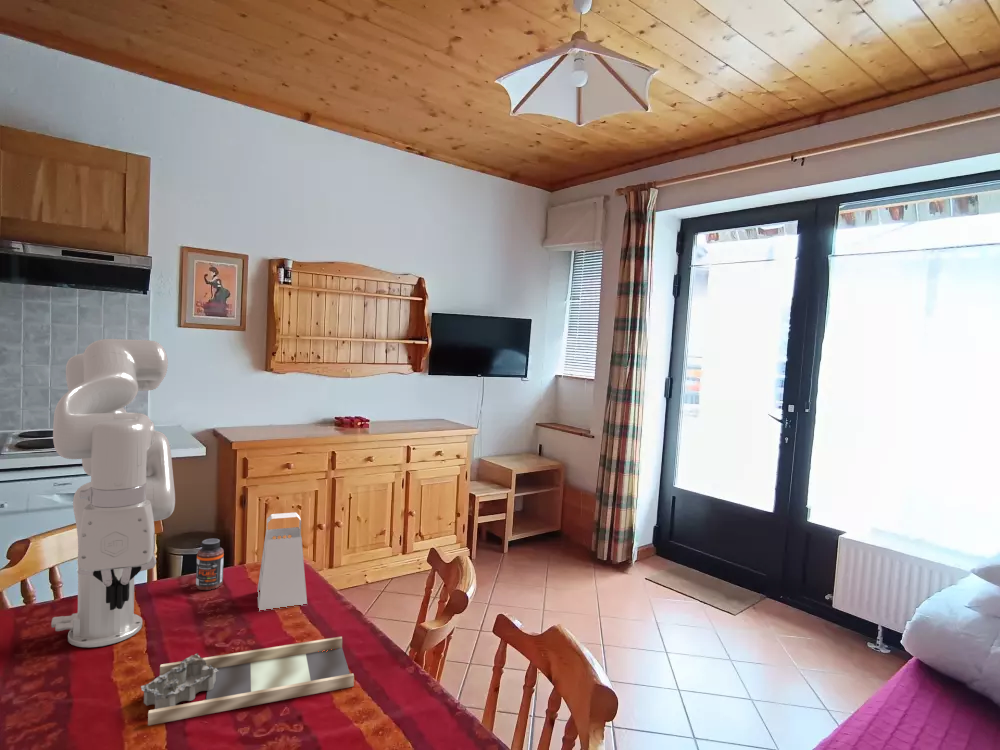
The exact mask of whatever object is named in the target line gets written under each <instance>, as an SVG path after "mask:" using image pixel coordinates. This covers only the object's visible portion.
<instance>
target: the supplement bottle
mask: <svg viewBox="0 0 1000 750" xmlns="http://www.w3.org/2000/svg"><path fill="white" fill-rule="evenodd" d="M220 542H221V540H220V539H218V538H206V539H204V540H202V541H201V548H200V549H199V550H198V551H197V553H196V566H195V567H196V570H195V571H196V572H195V575H196V576H195V587H196V588H197V589H198V590H201V591H211V589H212V590H216V589H219V588H220V587H221V586H222V585H223V581H224V555H225V554H224V552H225V551H224V548H222V547H221V546H220V545H221V543H220ZM219 586H220V587H219ZM215 588H216V589H215Z"/></svg>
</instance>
